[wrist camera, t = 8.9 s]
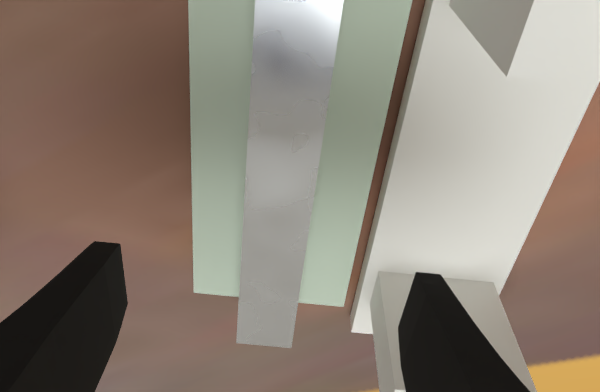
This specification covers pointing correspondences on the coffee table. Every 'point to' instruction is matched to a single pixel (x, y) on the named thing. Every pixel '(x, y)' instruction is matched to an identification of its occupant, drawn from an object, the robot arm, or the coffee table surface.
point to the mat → (334, 153)
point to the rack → (474, 159)
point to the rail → (283, 159)
